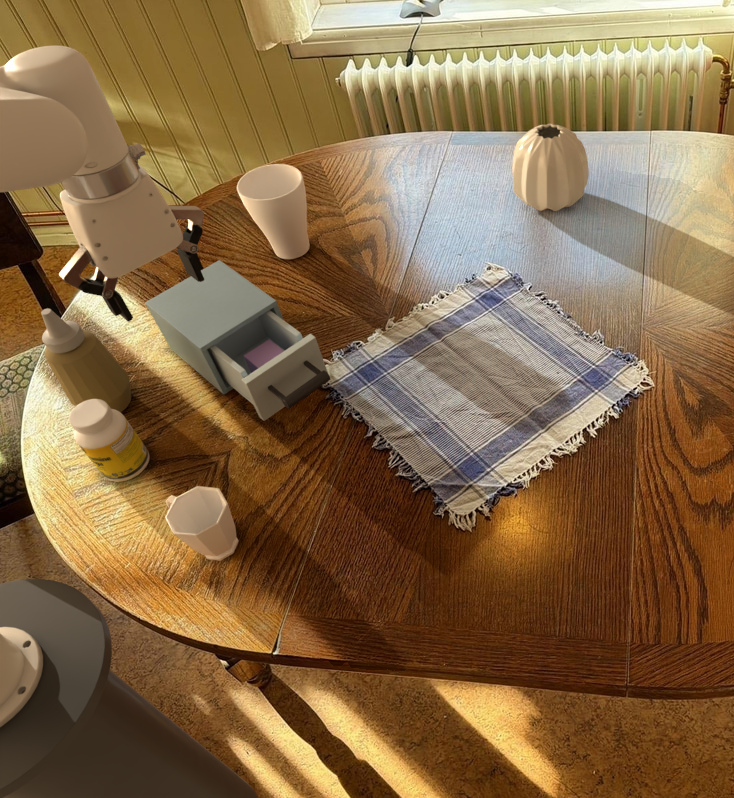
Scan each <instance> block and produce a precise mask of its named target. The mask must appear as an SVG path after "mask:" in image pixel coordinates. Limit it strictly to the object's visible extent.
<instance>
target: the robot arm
mask: <svg viewBox="0 0 734 798" xmlns="http://www.w3.org/2000/svg"><path fill="white" fill-rule="evenodd" d="M143 156H146V151H145V149H144V147H143V145H142V144H141V143H140V142H138V143H135V144H127V142H126V139H125V137H124V135H123V133H122V130H121V128H120V126H119V124H118V122H117V120H116V117H115V116H114V113H113V111H112V109H111V107H110V104H109V102H108V100H107V98H106V96H105V94H104V92H103V89H102V87H101V85H100V82H99V80H98V78H97V77H96V74H95V72H94V70H93V68H92V66H91V64H90V63H89V60H88V59H87V57H85V55H83V54H82V53H81V52H80V51H78V50H77V49H75V48H73V47H69V46H66V45H44V46H39V47H38V46H37V47H33V48H31V49H27V50H25V51H22V52H20V53H18V54H16V55H14V56H13V57H12V58H11V59H9V60H8V62H6V64H3V65H0V193H7V192H16V191H23V190H32V189H37V188H45V187H50V186H54V185H58V184H61V185H62V187H63V188H64V189H63V190H61V192H60V193H59V199H60V202H61V207H62V209H63V213H64V214H65V217H66V220H67V222H68V224H69V225H68V226H69V227H70V229H71V231H72V234H73V236H74V238H75V239H76V243H77V244H78V247H79V248H78V249H77V250H76V251H75V253H74V254H73V255H72V256H71V258H70V259H69V260H68V261H67V263H66V264H65V265H64V266H63V267H62V269H61V270H60V271H59V273H58V277H59V278H60V279H61V280H63V282H64V283H66V284H68V285H70V286H72V287H73V288H75V289H77V290H80V291H82V292H83V293H85V294H90V295H92V296H93V295H94V296H100V297H102V299H103V301H104V302H105V304H106V307H108V309H109V311H110V312H111V314H113V316H115V317H118V316H119V315H120V316H121V317H122V318H123V319H125V320H126V321H127V322H131V321H132V320H133V319H134V316H133V315H132V313H131V311H130V309H129V307H128V305H127V304H126V302H125V300H124V299H123V296H122V295H121V294H120V292H118V291H117V290H116V288H117V284H118V280H119V278H120V277H123V276H126V275H128V274H130V273H131V272H133V271H135V270H137V269H139V268H141V267H143V266H145V265H147V264H149V263H151V262H152V261H153V262H154V261H155V260H157V259H159V258H161V257H162V256H164V255H167V254H168V253H170V252H172V251H174V250H175V249H176V252H177V255H178V257H179V259H180V261H181V262H182V265H183V268H184V270H185V272H186V274H188V275H189V277H191V276H192V277H193V278H194V279H195V280H197V281H198V282H202V281H204V277H203V275H202V272H201V270H203V269H204V266H203V264H202V261H201V259H200V257H199V255H198V251H199V249H200V247H199V246H198V245H199V243H200V240H201V238H202V235H203V232H204V230H203V228H202V226H203V223H204V210H203V209H202V208H199V207H198V206H196V205H169V204H168V202H167V201H166V199H165V197H164V196H163V194H162V192H161V191H160V189H159V188H158V186H157V185H156V183H155V181H154V180H153V178H152V177H151V176H150V174H149V173H148V172H147V171H146V169H145V168H144V167H143V166H141V165H140V164H139V160H140V159H141V157H143ZM178 220H187V224H186V226H185V228H184V231H182V229H181V227H180V224H179V223H178ZM89 265H90V266H91V267H93V268H94V267H95V270H94V274H93V277H92V279H91V278H86V277H82V276H81V274H82V273H83V272H84V270H85V269H86V268H87V267H88V266H89ZM42 669H43V654H42V650H41V647H40V645H39V644H38V642H37V641H36V640H35V639H34V638H33V637H32V636H31V635H29V634H28V633H26V632H25V631H23V630H20V629H17V628H12V627H0V727H2V726H3V725H4V724H5V723H7V722H8V721H9V720H11V719H12V718H13V717H14V716H15V715H16V714H17V713H18V712H19V711H20V710H21V709H22V708H23V707H24V705H25V704H26V703H27V701H28V700H29V699H30V698H31V696H32V694H33V692H34V691H35V689H36V687H37V685H38V683H39V680H40V677H41V674H42Z"/></svg>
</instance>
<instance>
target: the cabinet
mask: <svg viewBox="0 0 734 798" xmlns="http://www.w3.org/2000/svg"><path fill="white" fill-rule="evenodd" d="M201 272H202V275H203V277H204V281H202V282H198V281H197V280H195V279H194V278H193V277H192V276H188V277H187V278H185V279H183V280H182V281H181V282H178V283H177V284H175V285H173V286H172V287H170V288H168V289H166V290H164V291H163V292H161V293H159V294H158V295H155V296H154V297H152V298H150V299H149V300H147V301H145V302H144V305H145V306H146V308H147V310H148V311H149V313H150V315H151V317H152V318H153V320H154V322H155V324H156V325H157V327H158V329H159V331H160V332H161V334H162V336H163V338H164V339H165V342H166V343H167V345H168V347H169V349H170V350H171V351H172V352H174V353H175V354H176V355H177V356H178V357H180V359H182V360H183V361H184V362H185V363H186V364H187V365H189V366H190V367H191V368H192V369H193V370H195V372H197V373H198V374H199V375H200V376H201V377H202V378H204V379H205V380H206V381H207V382H209V384H211V385H212V386H213V387H214V388H215V389H217V390H218V391H219V392H220V393H221V394H222V395H226V394H227V393H229V392H231V391H232V390H234V388H233V387H232V386H230V385H229V384H228V383H227V382H226V381H225V380H223V379H222V378H221V376H220V374H219V372H218V370H217V368H216V366H215V364H214V362H213V360H212V358H211V356H210V354H209V352H208V350H207V349H208V348H210V347H212V346H213V345H215V344H216V343H218V342H220V341H221V340H223V339H224V338H226V337H227V336H229V335H231V334H232V333H234V332H235V331H237V330H239V329H240V328H242V327H243V326H245V325H246V324H248V323H250V322H251V321H253V320H254V319H256V318H258V317H259V316H261V315H262V314H264V313H265V312H267V311H269V310H270V311H272V312H273V313H274V314H276V315H277V316H278V317H280V318H281V319H282V320H284V318H283V315H282V311H281V309H280V306H279V304H278V302H277V300H276V299H275V298H273V297H272V296H271V295H269V294H268V293H267V292H265V291H264V290H262V289H261V288H259V287H258V286H256V285H255V284H254V283H252V282H251V281H250V280H248V279H247V278H245V277H244V276H243V275H241V274H240V273H239V272H237V271H236V270H234V269H233V268H231V266H229V265H227V264H226V263H224V262H223V261H222V260H220V259H219V260H217V261H216V262H214V263H212V264H210V265H207V267H205V268H203V270H201Z"/></svg>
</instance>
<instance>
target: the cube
mask: <svg viewBox="0 0 734 798" xmlns="http://www.w3.org/2000/svg"><path fill="white" fill-rule="evenodd" d="M282 352H284V350H282V349H281V348H280V347H279V346H277V345H276V344H275V343H274V342H272V341H271V340H270V339H269V340H267V341H266V342H264V343H263V344H261V345H259V346H258V347H256V348H255V349H253V350H251V351H250V352H248V353H247V354H245V355H244V358H245V360H246V362H247V364H248V367H249V369H250V371H251V373H252V372H254V371H255V370H257V369H258V368H260V367H261V366H263V365H264V364H266V363H267V362H269V361H270V360H272V359H273V358H275V357H276V356H278V355H279V354H281V353H282Z"/></svg>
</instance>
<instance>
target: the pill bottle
mask: <svg viewBox="0 0 734 798" xmlns="http://www.w3.org/2000/svg"><path fill="white" fill-rule="evenodd" d="M68 422H69V424H70V427H72V429H73V438H74V441H75V442H76V444H77V445H78V447H79V448H80V449H81V451H82V452H83V453H84V454H85V455H86V457H88V459H89V460H90V461H91V463H92V464H93V465H94V466H95V467H96V469H97V470H98V471H99V473H100V474H101V475H102V476H103V477H104V478H105V479H107V480H109V481H111V482H117V483H118V482H119V483H120V482H121V483H122V482H126V481H129V480H131V479H133V478H136V477H137V476H139V475H140V474H141V473H142V472H143V471H144V470H145V469H146V468H147V466H148V465H149V462H150V452H149V449H148V448H147V447H146V445H145V444H144V442H143V441H142V439H141V438H140V436H139V435H138V434H137V432H136V431H135V429H134V428H133V426H132V425H131V424H130V422H129V421H128V419H127V418H126V416H125V415H124V414H123V413H122V412H121V413H120V412H119V411H117V410H115V409H111V408H110V407H109V405H108V404H107V403H106V402H105V401H103V400H101V399H90V400H87V401H84V402H82V403H80V404H78V405H77V406H74V407H73V408H72V409H71V411H70V412H69V415H68Z"/></svg>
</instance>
